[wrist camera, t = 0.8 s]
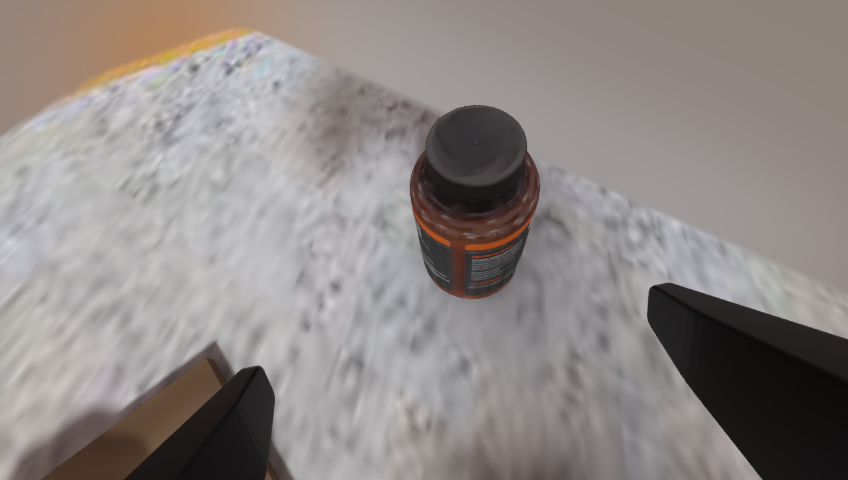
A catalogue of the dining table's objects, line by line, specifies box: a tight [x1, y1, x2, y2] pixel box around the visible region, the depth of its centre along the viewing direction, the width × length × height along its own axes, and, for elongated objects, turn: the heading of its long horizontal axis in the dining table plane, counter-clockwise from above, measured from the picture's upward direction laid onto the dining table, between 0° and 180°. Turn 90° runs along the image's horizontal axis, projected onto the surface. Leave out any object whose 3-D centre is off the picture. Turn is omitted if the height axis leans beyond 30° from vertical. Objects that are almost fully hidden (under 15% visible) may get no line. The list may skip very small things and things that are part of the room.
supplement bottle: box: [410, 105, 540, 299], centre depth 21 cm, size 6×6×11 cm
